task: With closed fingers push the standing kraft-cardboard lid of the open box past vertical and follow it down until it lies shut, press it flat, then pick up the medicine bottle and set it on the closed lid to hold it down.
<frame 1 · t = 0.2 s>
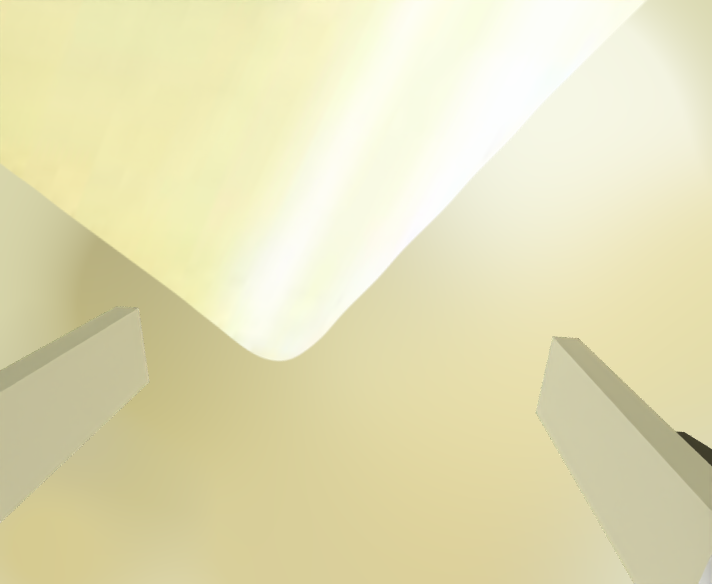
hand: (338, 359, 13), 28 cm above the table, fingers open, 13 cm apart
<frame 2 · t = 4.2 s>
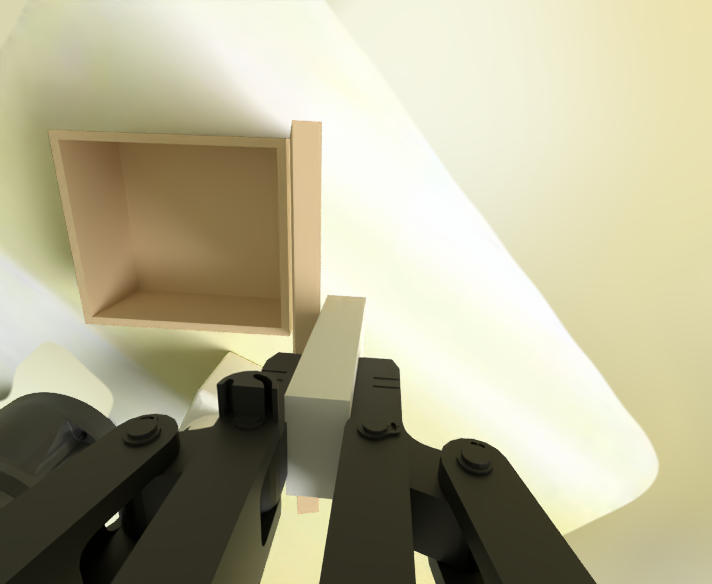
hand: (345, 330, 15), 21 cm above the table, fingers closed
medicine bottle: (248, 391, 41), on the table
lid: (300, 278, 21), point 15 cm above the table, hinge at 102.7°, touching gripper
box: (215, 223, 35), on the table
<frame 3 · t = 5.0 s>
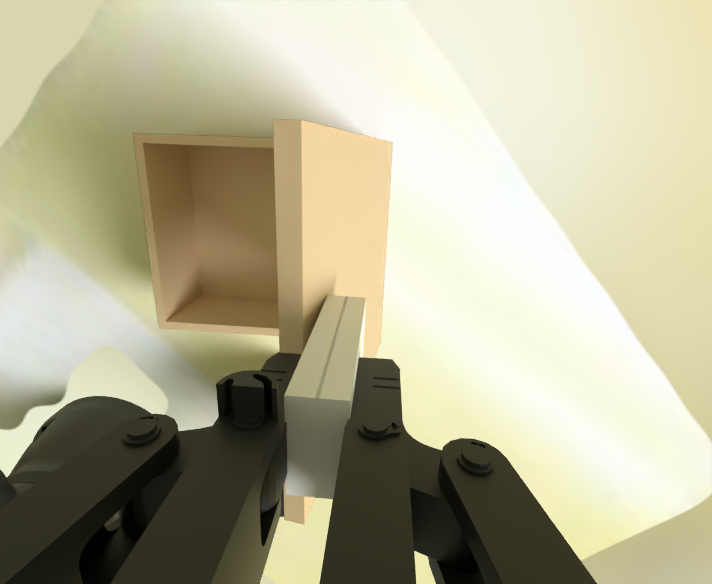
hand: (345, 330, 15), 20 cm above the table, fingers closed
lid: (352, 284, 20), point 15 cm above the table, hinge at 80.3°, touching gripper
box: (281, 227, 35), on the table
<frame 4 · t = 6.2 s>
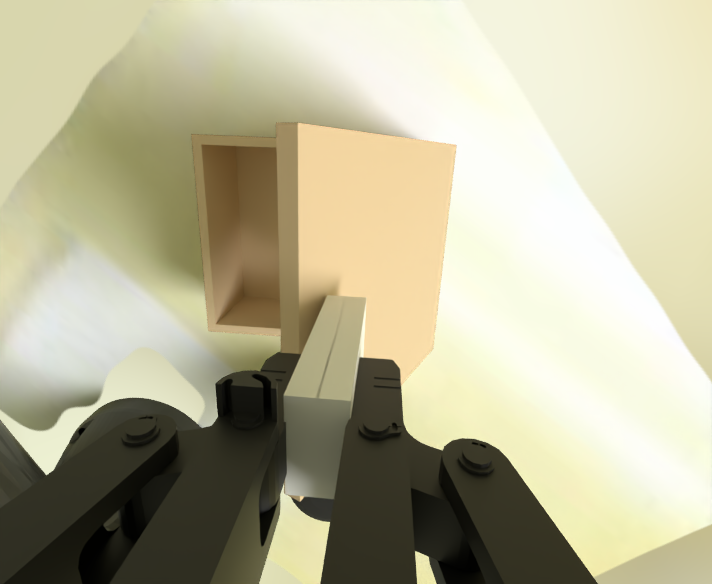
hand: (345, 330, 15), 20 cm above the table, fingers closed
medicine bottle: (344, 399, 40), on the table
lid: (387, 283, 21), point 14 cm above the table, hinge at 64.6°, touching gripper
box: (327, 229, 34), on the table
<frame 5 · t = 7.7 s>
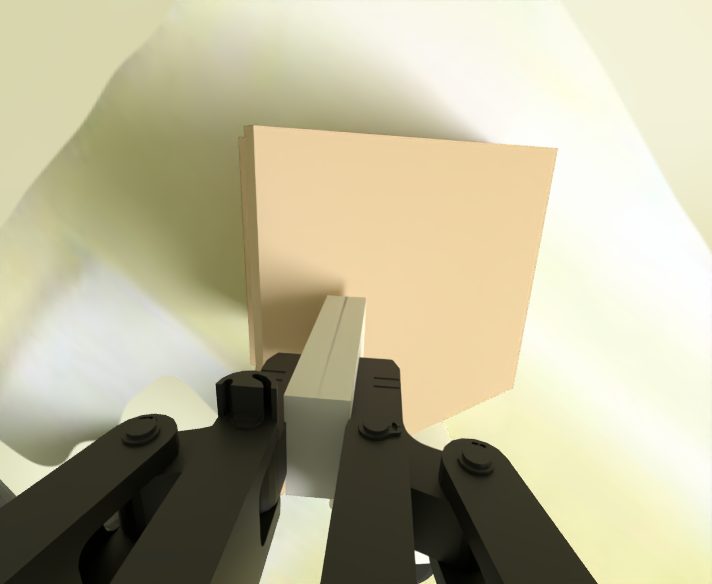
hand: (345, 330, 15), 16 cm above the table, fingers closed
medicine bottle: (391, 431, 36), on the table
lid: (423, 301, 19), point 12 cm above the table, hinge at 38.0°, touching gripper
box: (379, 244, 30), on the table
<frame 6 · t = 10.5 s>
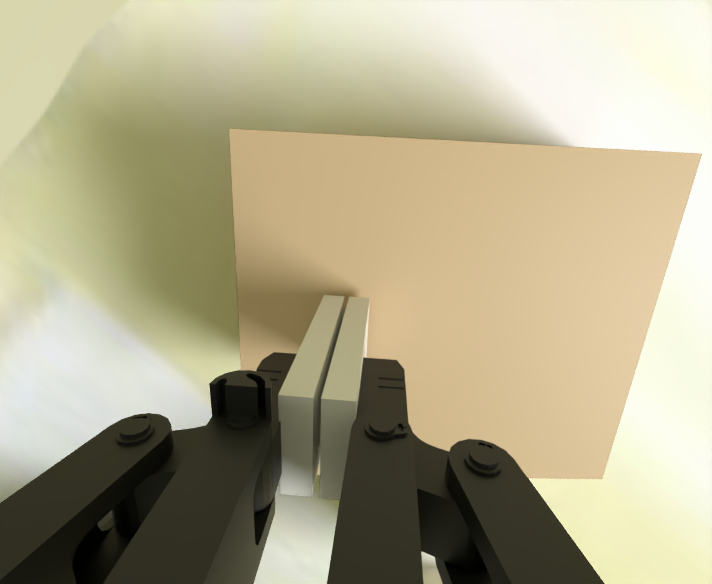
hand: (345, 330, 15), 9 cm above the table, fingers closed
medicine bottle: (424, 496, 29), on the table
lid: (444, 329, 16), point 8 cm above the table, hinge at 6.0°, touching gripper
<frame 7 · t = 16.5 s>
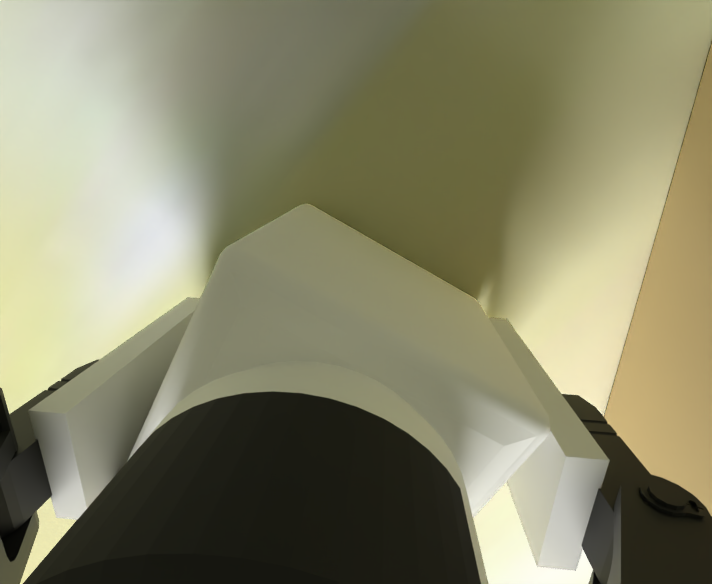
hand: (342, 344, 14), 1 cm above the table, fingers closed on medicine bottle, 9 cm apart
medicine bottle: (346, 328, 15), on the table, touching gripper
when the fingers open (10 cm above the table, at t = 22.1 s): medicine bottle drops 1 cm, resting on lid.
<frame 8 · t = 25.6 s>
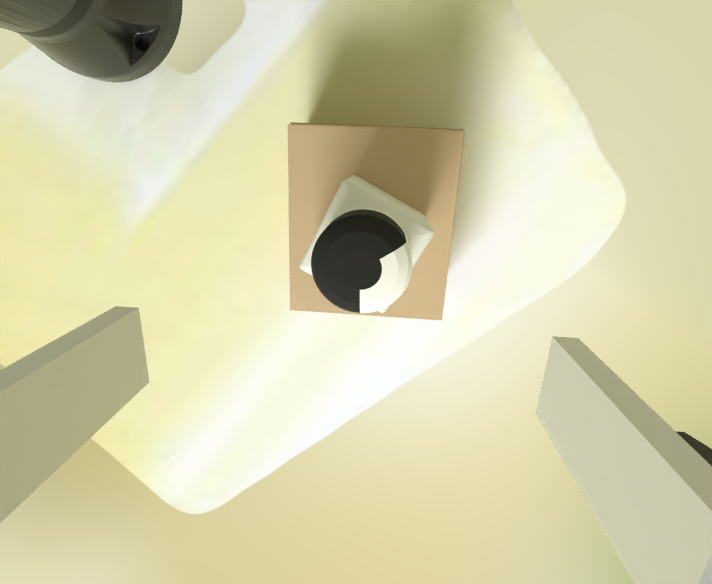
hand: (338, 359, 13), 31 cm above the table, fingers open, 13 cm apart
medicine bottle: (369, 231, 35), point 8 cm above the table, touching lid
lid: (369, 227, 35), point 7 cm above the table, hinge at 0.0°, touching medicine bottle
box: (373, 213, 42), on the table
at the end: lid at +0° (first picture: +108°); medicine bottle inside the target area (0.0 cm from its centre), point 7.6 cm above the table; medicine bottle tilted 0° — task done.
